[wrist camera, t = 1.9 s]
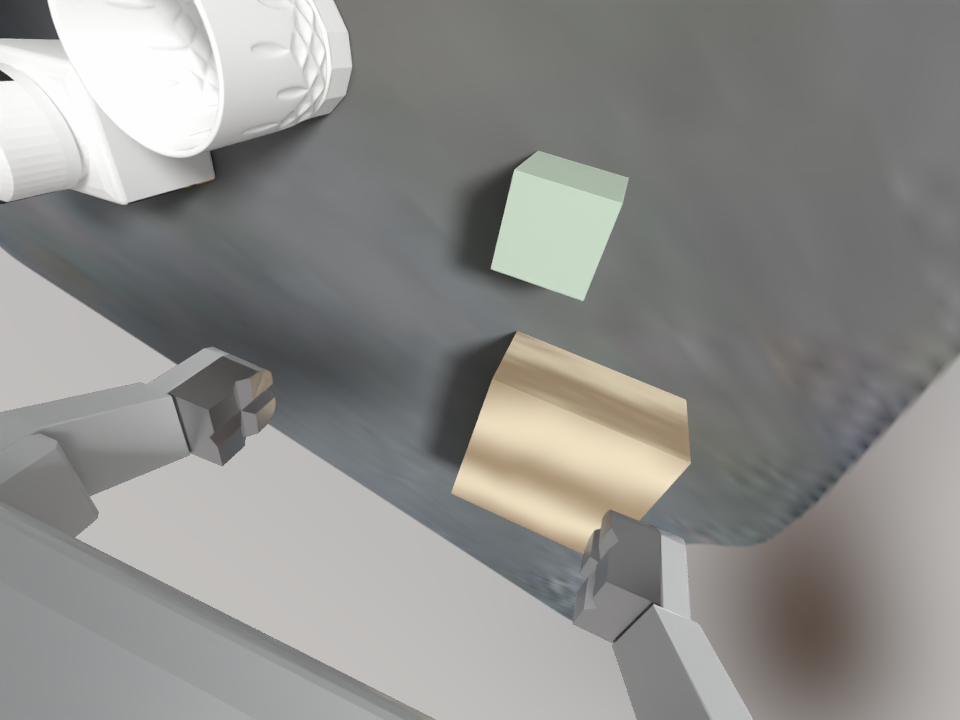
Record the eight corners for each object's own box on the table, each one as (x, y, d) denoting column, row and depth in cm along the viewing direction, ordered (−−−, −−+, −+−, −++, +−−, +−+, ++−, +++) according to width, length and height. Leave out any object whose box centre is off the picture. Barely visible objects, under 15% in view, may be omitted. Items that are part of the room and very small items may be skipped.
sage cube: (538, 150, 24) (514, 169, 20) (628, 177, 23) (622, 203, 19) (515, 237, 27) (490, 269, 23) (594, 263, 26) (583, 300, 22)
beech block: (518, 328, 30) (492, 378, 26) (685, 397, 29) (690, 463, 24) (476, 438, 38) (451, 493, 33) (609, 497, 37) (601, 562, 32)
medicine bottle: (138, 157, 32) (-72, 200, 23) (101, 39, 28) (-175, 33, 19) (218, 180, 31) (31, 234, 22) (193, 60, 27) (-54, 64, 18)
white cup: (371, 132, 26) (247, 166, 18) (260, 123, 28) (105, 150, 20) (351, -49, 21) (174, -108, 14) (221, -45, 23) (0, -95, 15)
